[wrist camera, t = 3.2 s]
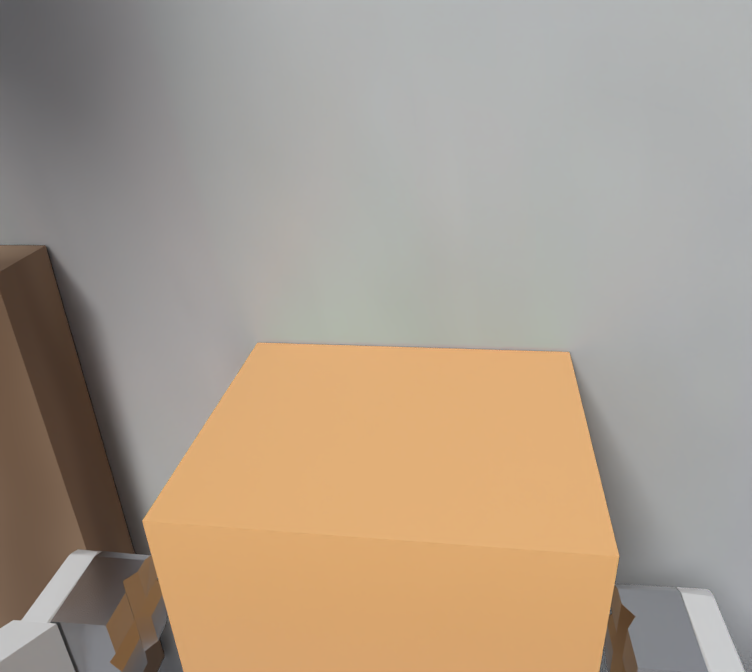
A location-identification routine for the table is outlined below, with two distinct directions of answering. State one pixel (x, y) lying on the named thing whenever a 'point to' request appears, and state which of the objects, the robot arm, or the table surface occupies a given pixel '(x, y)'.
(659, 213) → the table surface
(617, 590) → the robot arm
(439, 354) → the peach wooden cube
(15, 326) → the post board
